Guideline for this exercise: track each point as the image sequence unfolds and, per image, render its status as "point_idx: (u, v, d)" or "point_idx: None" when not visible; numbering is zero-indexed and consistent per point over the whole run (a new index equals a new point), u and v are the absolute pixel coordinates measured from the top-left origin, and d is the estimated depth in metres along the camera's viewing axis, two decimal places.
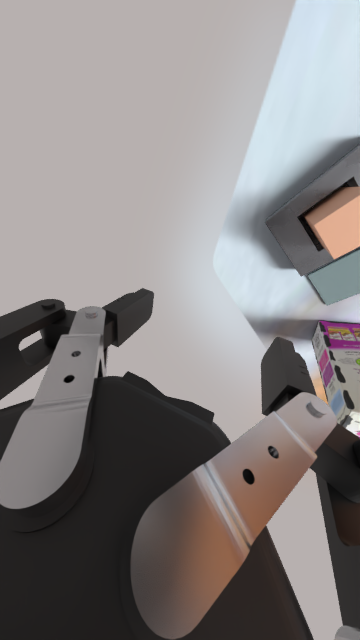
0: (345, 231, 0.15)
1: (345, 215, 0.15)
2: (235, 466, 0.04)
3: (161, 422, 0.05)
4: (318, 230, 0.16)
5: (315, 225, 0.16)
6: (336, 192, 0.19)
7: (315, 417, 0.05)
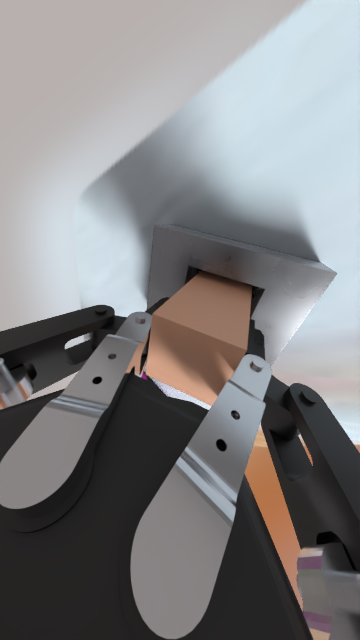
0: (177, 361, 0.08)
1: (192, 346, 0.07)
2: (235, 466, 0.04)
3: (161, 422, 0.05)
4: (152, 326, 0.08)
5: (154, 316, 0.07)
6: (243, 284, 0.13)
7: (253, 370, 0.07)
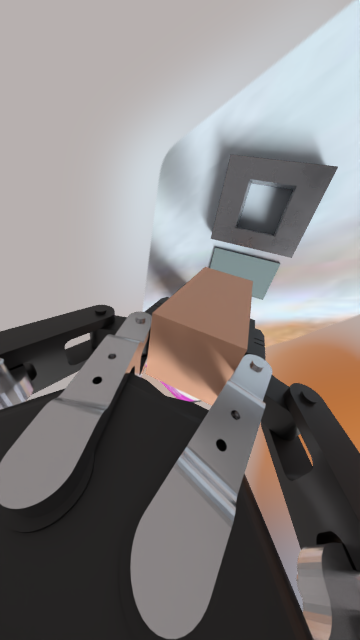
0: (177, 361, 0.08)
1: (192, 345, 0.07)
2: (235, 466, 0.04)
3: (161, 422, 0.05)
4: (153, 326, 0.08)
5: (154, 315, 0.07)
6: (243, 284, 0.13)
7: (253, 370, 0.07)
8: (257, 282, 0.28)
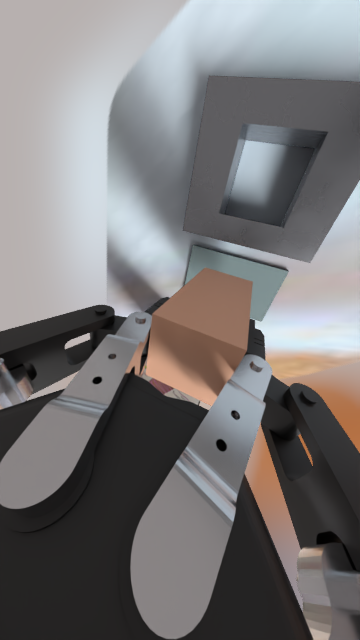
0: (177, 361, 0.08)
1: (192, 346, 0.07)
2: (235, 466, 0.04)
3: (161, 422, 0.05)
4: (152, 326, 0.08)
5: (154, 316, 0.07)
6: (243, 284, 0.13)
7: (253, 370, 0.07)
8: (253, 297, 0.19)
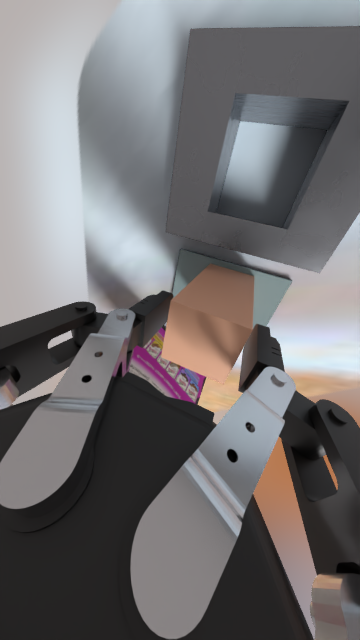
0: (190, 343, 0.09)
1: (204, 328, 0.08)
2: (235, 466, 0.04)
3: (161, 422, 0.05)
4: (170, 312, 0.09)
5: (172, 302, 0.08)
6: (245, 278, 0.14)
7: (276, 385, 0.06)
8: None
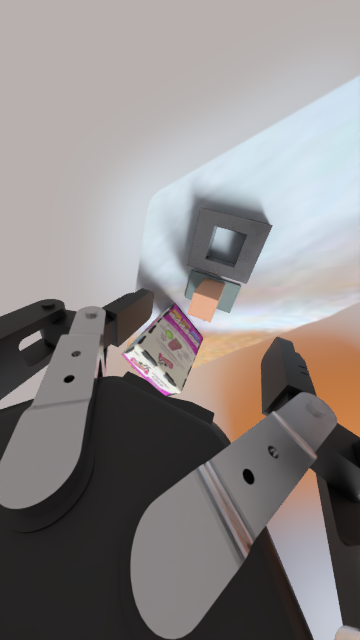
0: (199, 307, 0.27)
1: (204, 301, 0.27)
2: (235, 466, 0.04)
3: (161, 422, 0.05)
4: (193, 296, 0.27)
5: (194, 293, 0.27)
6: (221, 285, 0.32)
7: (315, 417, 0.05)
8: (224, 299, 0.35)
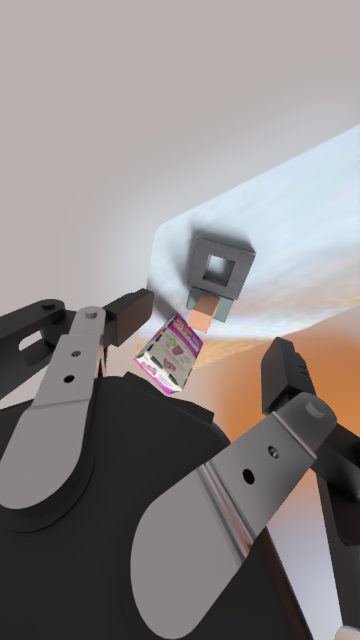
0: (196, 320, 0.33)
1: (200, 316, 0.33)
2: (235, 466, 0.04)
3: (161, 422, 0.05)
4: (191, 312, 0.33)
5: (192, 309, 0.33)
6: (216, 300, 0.38)
7: (315, 417, 0.05)
8: (220, 311, 0.41)
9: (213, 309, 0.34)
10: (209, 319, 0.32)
